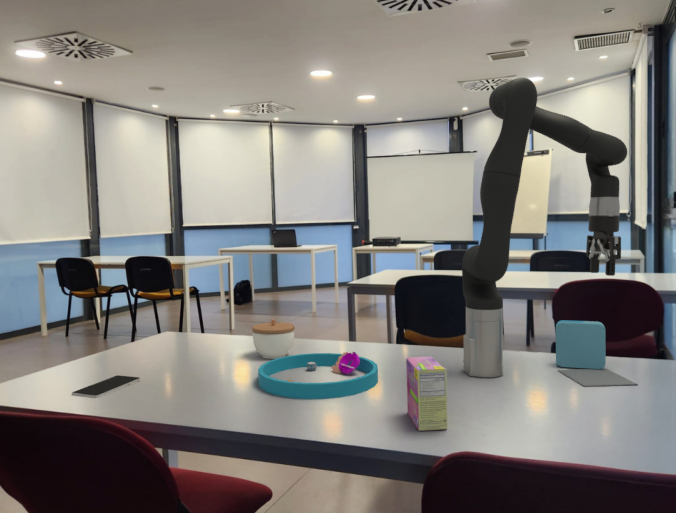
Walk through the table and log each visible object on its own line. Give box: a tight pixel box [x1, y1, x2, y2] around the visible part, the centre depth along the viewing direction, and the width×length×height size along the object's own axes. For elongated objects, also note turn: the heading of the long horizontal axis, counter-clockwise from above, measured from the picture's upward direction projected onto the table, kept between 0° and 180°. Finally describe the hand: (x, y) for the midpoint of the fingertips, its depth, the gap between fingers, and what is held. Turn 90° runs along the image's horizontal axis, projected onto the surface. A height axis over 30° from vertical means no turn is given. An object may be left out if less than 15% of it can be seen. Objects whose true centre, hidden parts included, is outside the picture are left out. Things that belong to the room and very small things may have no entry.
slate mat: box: [557, 368, 638, 388], centre depth 138 cm, size 13×14×1 cm
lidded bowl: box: [251, 318, 296, 360], centre depth 166 cm, size 13×13×11 cm
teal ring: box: [257, 351, 379, 400], centre depth 140 cm, size 30×30×6 cm
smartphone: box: [71, 375, 141, 399], centre depth 137 cm, size 8×1×15 cm
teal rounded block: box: [555, 319, 607, 369], centre depth 148 cm, size 12×4×12 cm, turn 67°
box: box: [405, 356, 448, 432], centre depth 110 cm, size 10×6×12 cm, turn 5°
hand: (602, 274), depth 151 cm, fingers open, 8 cm apart
